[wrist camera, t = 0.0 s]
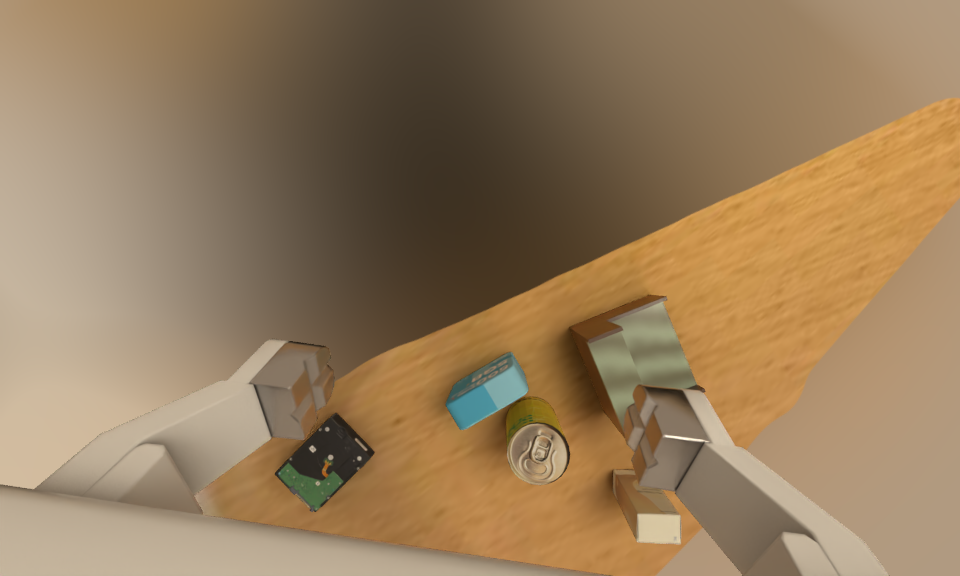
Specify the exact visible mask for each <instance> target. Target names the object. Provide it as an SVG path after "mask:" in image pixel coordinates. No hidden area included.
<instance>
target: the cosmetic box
mask: <svg viewBox="0 0 960 576" xmlns="http://www.w3.org/2000/svg"><path fill="white" fill-rule="evenodd" d="M613 493H614V495H615V497H616V499H617V501H618V503H619V505H620V507H621V509H622V512H623V514H624V516H625V518H626V520H627V522H628V524H629V526H630V528H631V530H632V532H633V534H634V536H635V539H636V541H637V542H642V543H657V544H681V516H680V514H679V513H678V512H677V510H676V509H675V507H674V506H673V505H672V503H671V502H670V500H669V499H668V498H667V496H666V495H665V493H664V492H663V491H662V489H656V488H650V487H644V486H639V484H638V481H637V478H636V474H635V471H634V470H613Z"/></svg>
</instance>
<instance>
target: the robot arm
mask: <svg viewBox="0 0 960 576" xmlns="http://www.w3.org/2000/svg"><path fill="white" fill-rule="evenodd" d="M330 359H331V355H330V351H329V348H327V347H326V346H321V345H314V344H307V343H300V342H293V341H283V340H277V339H271V340H268V341H266V342H265V343H264V344H263V345H262V346H261V347H260V348H259V349H258V350H257V351H256V352H255V353H254V354H253V355H252V356H251V357H250V358H249V359H248V360H247V361H246V362H245V363H244V364H243V365H242V366H241V367H240V368H239V369H238V370H237V371H236V372H235V373H234V374H233V375H232V376H231V377H230V378H229V379H228V380H227V381H222V380H220V381H218V382H216V383H214V384H211V385H209V386H207V387H205V388H202V389H200V390H198V391H196V392H193V393H191V394H189V395H187V396H185V397H182V398H180V399H178V400H176V401H173V402H171V403H169V404H167V405H164V406H162V407H160V408H158V409H156V410H153V411H151V412H149V413H147V414H144V415H142V416H140V417H138V418H136V419H133V420H131V421H129V422H127V423H124V424H122V425H120V426H118V427H116V428H113V429H111V430H109V431H106V432H104V433H102V434H100V435H99V436H97V437H96V438H95V439H94V440H93V441H91V442H90V443H89V444H88V445H87V446H85V447H84V448H83V449H82V450H81V451H79V452H78V453H77V454H76V455H75V456H73V457H72V458H71V459H70V460H69V461H67V462H66V463H65V464H64V465H63V466H61V467H60V468H59V469H58V470H57V471H55V472H54V473H53V474H52V475H51V476H49V477H48V478H47V479H46V480H45V481H43V482H42V483H41V484H40V485H39V486H37V487H36V488H35V489H27V488H20V487H13V486H7V485H0V576H611V575H604V574H597V573H590V572H584V571H577V570H570V569H564V568H557V567H550V566H544V565H537V564H530V563H523V562H517V561H510V560H503V559H497V558H490V557H483V556H477V555H470V554H463V553H457V552H450V551H443V550H437V549H430V548H423V547H417V546H410V545H403V544H396V543H390V542H383V541H376V540H369V539H363V538H356V537H349V536H342V535H336V534H329V533H322V532H315V531H309V530H302V529H295V528H288V527H282V526H275V525H268V524H262V523H255V522H248V521H241V520H235V519H228V518H221V517H215V516H208V515H203V512H202V509H201V507H200V506H199V504H198V502H197V501H196V499H195V497H194V495H195V494H197V493H198V492H199V491H201V490H202V489H203V488H205V487H206V486H208V485H209V484H210V483H212V482H213V481H214V480H216V479H217V478H218V477H220V476H221V475H223V474H224V473H225V472H227V471H228V470H229V469H231V468H232V467H234V466H235V465H236V464H238V463H239V462H240V461H242V460H243V459H244V458H246V457H247V456H249V455H250V454H251V453H253V452H254V451H255V450H257V449H258V448H259V447H261V446H262V445H264V444H265V443H266V442H268V441H269V440H270V439H271V437H279V438H288V439H297V440H305V439H306V437H307V435H308V434H309V432H310V430H311V429H312V427H313V426H314V424H315V422H316V421H317V419H318V418H317V413H316V411H317V410H319V409H320V408H322V407H324V406H325V405H326V404H327V402H328V401H329V399H330V397H331V394H332V391H333V388H334V379H335V377H334V371H333V369H332V368H331V367H330V366H329V365H328V364H327V363H328V362H329V360H330ZM632 396H633V399H634V403H633V404H631V405H630V406H628V407H627V409H626V412H625V415H624V424H623V429H624V436H625V440H626V443H627V445H628V446H629V447H630V448H631V449H632V450H633V451H634V452H635V453H634V455H633V458H632V460H631V461H632V464H633V468H634V471H635V474H636V478H637V481H638V484H639V486H644V487H650V488H656V489H663V490H669V491H675V494H676V495H677V497H678V498H679V499H680V500H681V501H682V503H683V504H684V505H685V506H686V507H687V509H688V510H689V511H690V512H691V513H692V515H693V516H694V517H695V518H696V519H697V521H698V522H699V523H700V524H701V525H702V527H703V528H704V529H705V530H706V531H707V533H708V534H709V535H710V536H711V537H712V539H713V540H714V541H715V542H716V543H717V545H718V546H719V547H720V548H721V549H722V551H723V552H724V553H725V554H726V555H727V557H728V558H729V559H730V560H731V561H732V563H733V564H734V565H735V566H736V567H737V569H738V570H739V571H740V572H741V574H742V576H889V574H888V573H887V572H886V570H885V569H884V568H883V566H882V565H881V564H880V562H879V561H878V560H877V558H876V557H875V555H874V554H873V553H872V551H871V550H870V549H869V547H868V546H867V545H866V543H865V542H864V541H863V540H862V539H860V538H859V537H858V536H856V535H855V534H854V533H853V532H851V531H850V530H849V529H847V528H846V527H845V526H844V525H842V524H841V523H840V522H838V521H837V520H836V519H834V518H833V517H832V516H831V515H829V514H828V513H827V512H825V511H824V510H822V508H820V507H819V506H818V505H816V504H815V503H814V502H812V501H811V500H810V499H809V498H807V497H806V496H805V495H803V494H802V493H801V492H800V491H798V490H797V489H796V488H794V487H793V486H792V485H790V484H789V483H788V482H786V481H785V480H784V479H783V478H781V477H780V476H779V475H777V474H776V473H775V472H774V471H772V470H771V469H770V468H768V467H767V466H766V465H764V464H763V463H762V462H761V461H759V460H758V459H757V458H755V457H754V456H753V455H752V454H750V453H749V452H748V451H746V450H745V449H744V448H743V447H737V446H735V445H734V443H733V441H732V439H731V438H730V436H729V434H728V433H727V431H726V429H725V428H724V426H723V424H722V423H721V421H720V419H719V418H718V416H717V414H716V413H715V411H714V409H713V408H712V406H711V404H710V402H709V401H708V399H707V397H706V396H705V394H704V393H702V392H701V391H699V390H689V389H680V388H679V389H677V388H668V387H660V386H651V385H642V384H638V385H637V386H636V387H635V389H634V391H633V394H632Z"/></svg>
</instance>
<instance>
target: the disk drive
mask: <svg viewBox="0 0 960 576" xmlns="http://www.w3.org/2000/svg"><path fill="white" fill-rule="evenodd" d="M373 454H374V451H373V450H372V449H371V448H370V447H369V446H368V445H367V443H366V442H365V441H364V440H363V439H362V438H361V437H360V436H359V435H358V434H357V433H356V432H355V431H354V430H353V429H352V428H351V427H350V426H349V425H348V424H347V423H346V422H345V421H344V420H343V419H342V418H341V417H340V416H339V415H338V414H337V413H335V414H334V415H333V416H331V417H330V418H329V419H328V420H327V421H326V422H325V423H324V424H323V425H322V426H321V427H320V428H319V429H318V430H317V431H316V432H315V433H314V434H313V435H312V436H311V437H310V438H309V439H308V440H307V441H306V442H305V443H304V444H303V445H302V446H301V447H300V448H299V449H298V450H297V451H296V452H295V453H294V454H293V455H292V456H291V457H290V458H289V459H288V460H287V461H286V462H285V463H284V464H283V465H282V466H281V467H280V468H279V469H278V470H277V471H276V472H275V475H276V476H277V477H278V478H279V479H280V480H281V481H282V482H283V483H284V484H285V485H286V486H287V487H288V488H290V489H289V490H290V491H291V492H292V493H293V494H294V495H295V494H297V497H299V499H302V500H301V501H302V502H303V503H304V504H305V505H306V506H307V507H308V508H311V509H310V511H311V512H313V511H314V512H316V511H317V510H318V509H319V508H320V507H322V506H323V505H324V504H325V503H326V502H327V501H328V500H329V499H330V498H331V497H332V496H333V495H334V494H335V493H336V492H337V491H338V490H339V489H340V488H341V487H342V486H343V485H344V484H345V483H346V482H347V481H348V480H349V479H350V478H351V477H352V476H353V475H354V474H355V473H356V472H357V471H358V470H359V469H361V468H362V467H363V466H364V465H365V464H366V462H367V461H368V460H369V459H370V458H371V457H372V456H373Z"/></svg>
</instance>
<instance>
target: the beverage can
mask: <svg viewBox="0 0 960 576" xmlns="http://www.w3.org/2000/svg"><path fill="white" fill-rule="evenodd" d="M506 438H507V456H508V462H509V465H510V467H511V469H512V471H513V472H514V473H515V474H516V476H517V477H519V478H520V479H521V480H523V481H525V482H527V483H530V484H534V485H544V484H549V483H551V482H554V481H556V480H557V479H558V478H560V477H561V476H562V475H563V473H564V472H565V471H566V469H567V466H568V464H569V459H570V451H569V446H568V443H567V441H566V438H565V436H564V434H563V431H562V429H561V426H560V424H559V422H558V419H557V417H556V414H555V412H554V410H553V408H552V407H551V406H550V405H549V404H548V403H547V402H546V401H544V400H543V399H540V398H538V397H524V398H522V399H519V400H517V401H516V402H515V403H514V404H512V406H511V407H510V408H509V410H508V413H507V415H506Z"/></svg>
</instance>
